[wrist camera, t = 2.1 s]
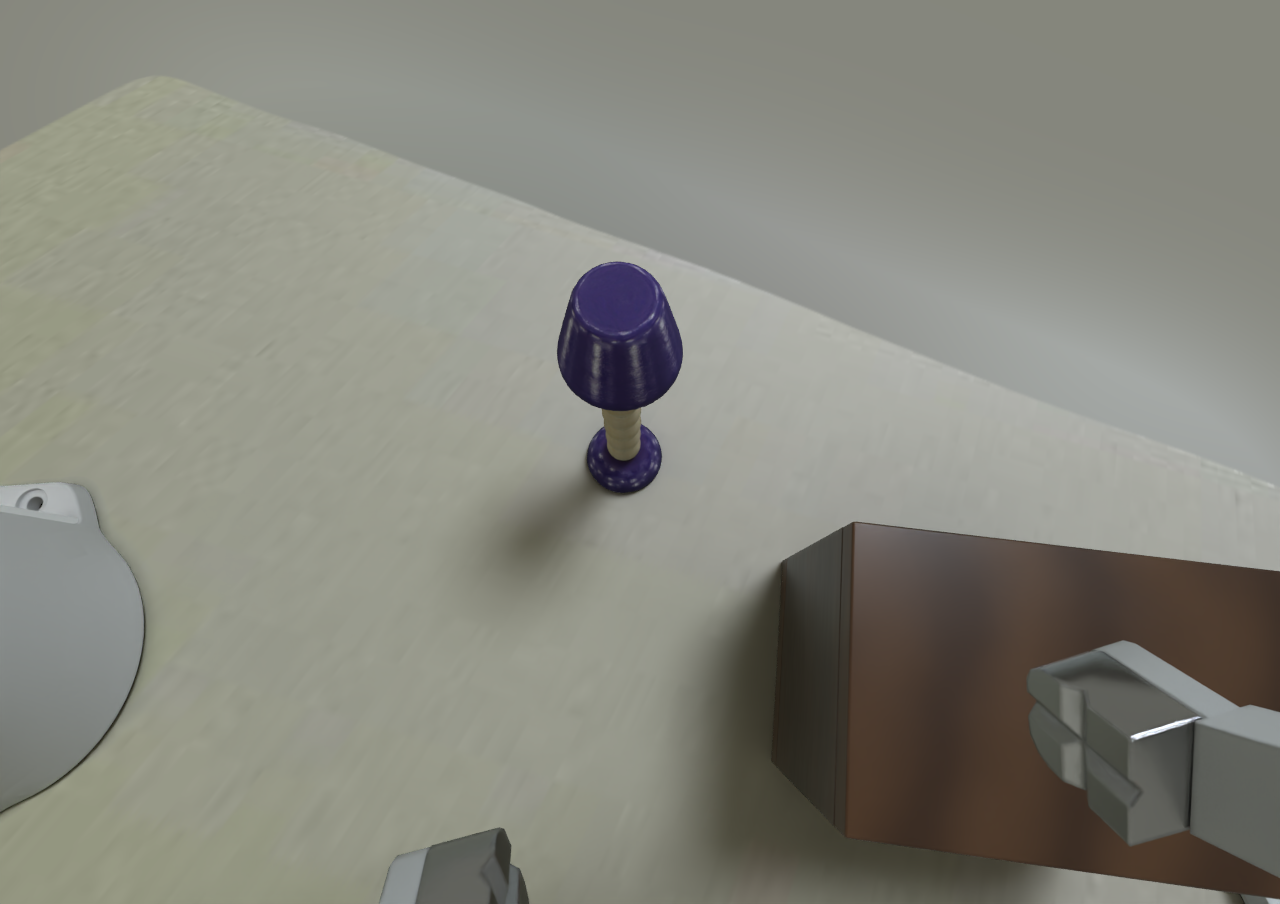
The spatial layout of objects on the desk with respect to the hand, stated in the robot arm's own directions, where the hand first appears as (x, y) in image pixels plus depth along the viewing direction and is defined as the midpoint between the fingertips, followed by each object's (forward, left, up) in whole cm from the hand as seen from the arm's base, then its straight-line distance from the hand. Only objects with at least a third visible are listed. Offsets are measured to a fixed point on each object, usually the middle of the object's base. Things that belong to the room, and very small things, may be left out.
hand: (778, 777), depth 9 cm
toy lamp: (-4, +12, -24) cm, 27 cm away
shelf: (+12, +2, -24) cm, 27 cm away
